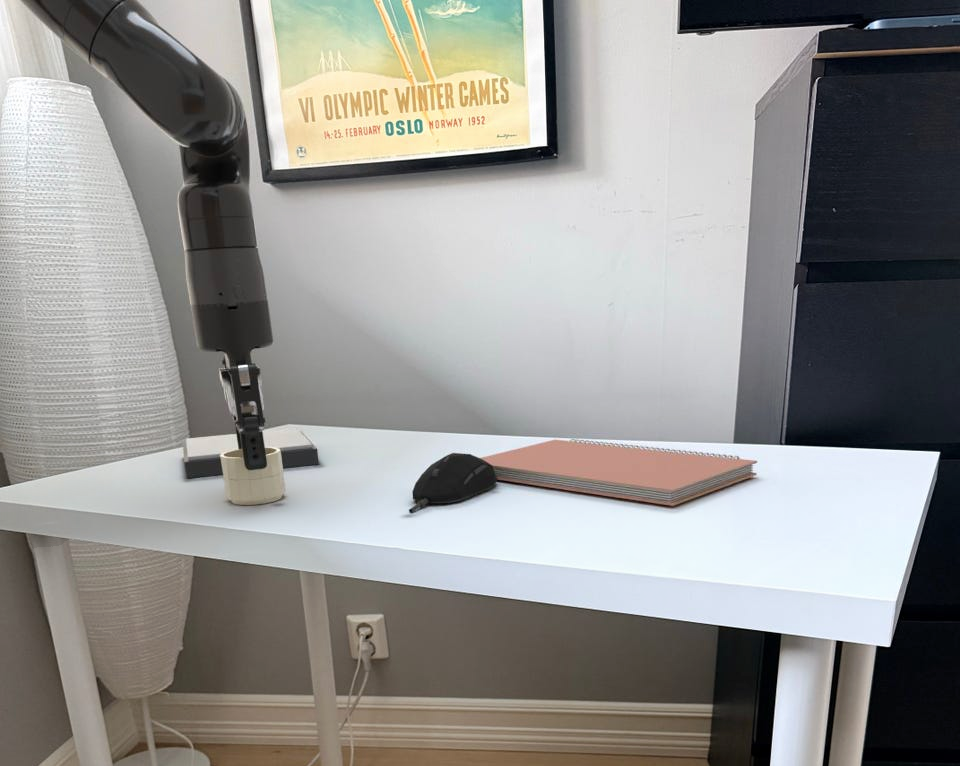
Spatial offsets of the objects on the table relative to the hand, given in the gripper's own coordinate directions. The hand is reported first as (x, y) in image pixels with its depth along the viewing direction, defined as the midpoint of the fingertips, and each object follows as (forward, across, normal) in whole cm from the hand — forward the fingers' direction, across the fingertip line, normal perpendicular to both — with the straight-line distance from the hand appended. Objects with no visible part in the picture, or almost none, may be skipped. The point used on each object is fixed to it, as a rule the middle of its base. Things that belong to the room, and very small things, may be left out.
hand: (253, 461), depth 98 cm
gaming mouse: (+4, +9, +19) cm, 21 cm away
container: (+4, 0, 0) cm, 4 cm away
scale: (+4, -24, +1) cm, 24 cm away
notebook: (+4, +9, +37) cm, 38 cm away
